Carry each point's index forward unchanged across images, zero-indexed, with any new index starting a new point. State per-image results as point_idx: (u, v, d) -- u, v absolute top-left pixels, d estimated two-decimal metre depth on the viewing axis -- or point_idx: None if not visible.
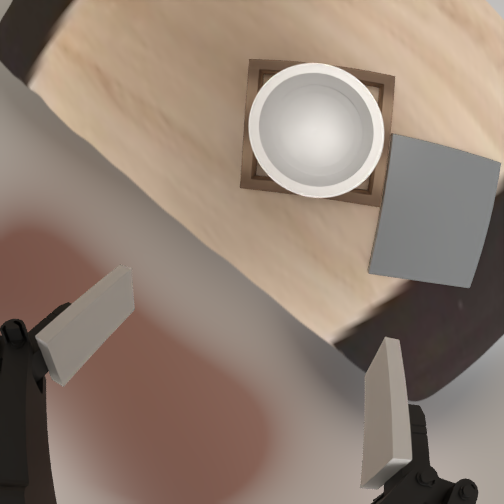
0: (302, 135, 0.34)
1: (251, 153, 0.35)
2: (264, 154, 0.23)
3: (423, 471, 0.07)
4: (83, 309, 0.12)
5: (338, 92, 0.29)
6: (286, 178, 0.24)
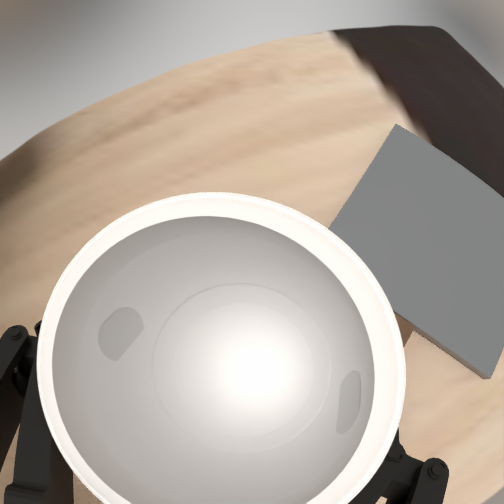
0: (240, 396, 0.18)
1: None
2: None
3: None
4: None
5: (197, 297, 0.18)
6: None
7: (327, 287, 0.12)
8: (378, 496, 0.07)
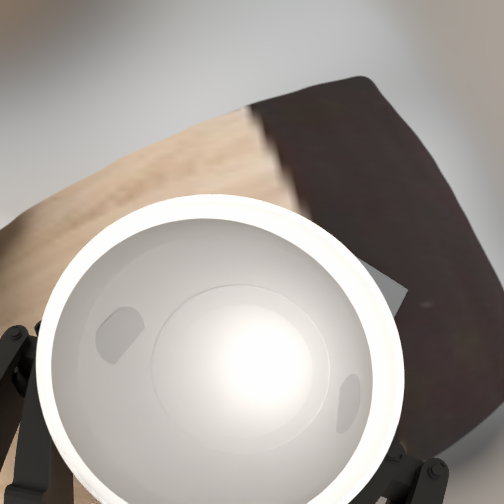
0: (239, 397, 0.18)
1: None
2: None
3: None
4: None
5: (196, 298, 0.18)
6: None
7: (326, 289, 0.12)
8: (378, 496, 0.07)
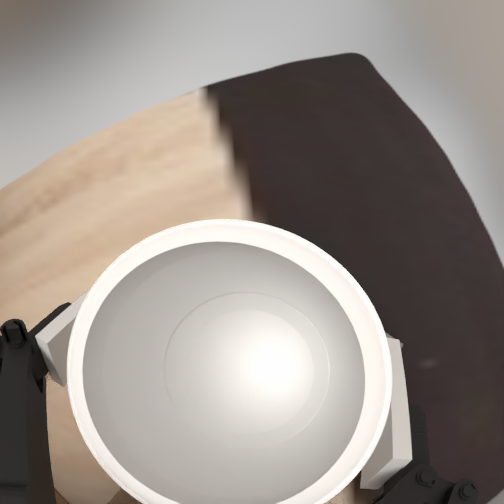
0: (245, 396, 0.20)
1: None
2: None
3: (423, 471, 0.07)
4: None
5: (206, 304, 0.19)
6: (285, 503, 0.07)
7: (326, 298, 0.13)
8: None
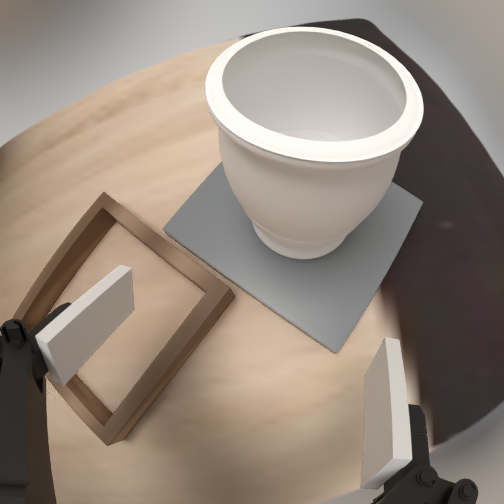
0: None
1: (78, 401, 0.21)
2: (322, 143, 0.11)
3: (423, 471, 0.07)
4: (83, 309, 0.12)
5: None
6: (379, 136, 0.11)
7: (366, 97, 0.18)
8: None
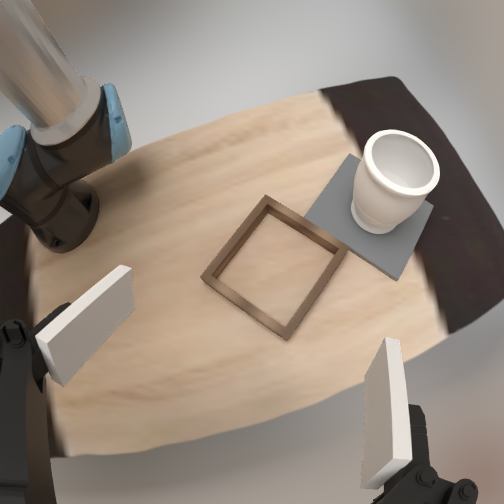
0: None
1: (266, 316, 0.44)
2: (409, 189, 0.34)
3: (423, 471, 0.07)
4: (83, 309, 0.12)
5: None
6: (425, 186, 0.34)
7: (413, 159, 0.41)
8: None
